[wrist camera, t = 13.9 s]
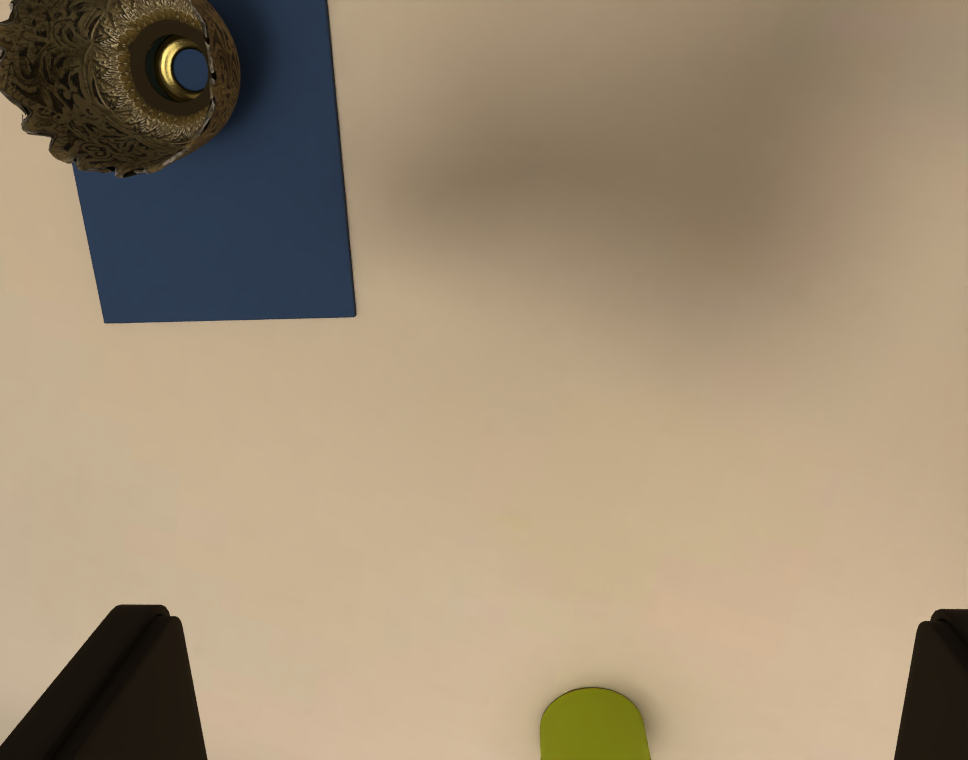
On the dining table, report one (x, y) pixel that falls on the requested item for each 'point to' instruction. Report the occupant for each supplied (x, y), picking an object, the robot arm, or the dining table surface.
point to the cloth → (237, 191)
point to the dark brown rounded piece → (117, 79)
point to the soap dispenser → (593, 728)
